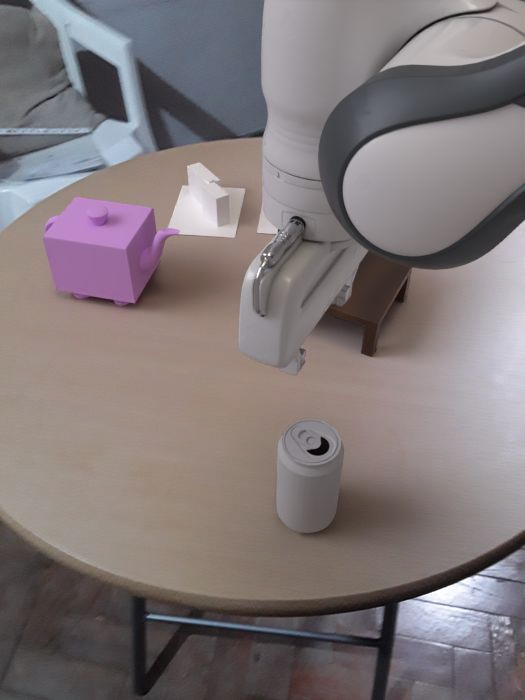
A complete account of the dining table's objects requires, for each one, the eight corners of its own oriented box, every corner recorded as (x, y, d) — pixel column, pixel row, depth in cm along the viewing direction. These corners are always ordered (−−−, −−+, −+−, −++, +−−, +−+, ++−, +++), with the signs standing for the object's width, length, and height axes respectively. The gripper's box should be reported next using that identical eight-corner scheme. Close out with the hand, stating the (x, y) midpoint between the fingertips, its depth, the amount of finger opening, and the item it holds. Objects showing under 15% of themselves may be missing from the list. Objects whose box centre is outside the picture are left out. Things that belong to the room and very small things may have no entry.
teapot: (42, 295, 98) (21, 222, 89) (73, 254, 105) (56, 182, 96) (174, 318, 94) (165, 244, 86) (196, 274, 101) (190, 201, 93)
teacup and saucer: (335, 185, 120) (337, 164, 117) (334, 210, 114) (336, 189, 111) (285, 183, 120) (286, 162, 117) (282, 207, 114) (282, 186, 112)
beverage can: (309, 548, 69) (316, 480, 61) (263, 511, 72) (263, 441, 64) (347, 508, 73) (359, 438, 64) (301, 474, 76) (307, 404, 67)
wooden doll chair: (406, 296, 98) (431, 172, 84) (372, 357, 89) (393, 229, 75) (316, 268, 103) (326, 146, 89) (275, 323, 94) (278, 197, 80)
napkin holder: (181, 185, 120) (178, 155, 116) (245, 188, 119) (245, 158, 115) (165, 234, 109) (162, 203, 105) (236, 237, 108) (235, 206, 104)
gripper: (301, 281, 40) (295, 431, 49) (415, 136, 53) (392, 277, 62) (209, 252, 42) (221, 401, 52) (340, 119, 55) (330, 258, 65)
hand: (316, 332), depth 57 cm, fingers open, 8 cm apart
